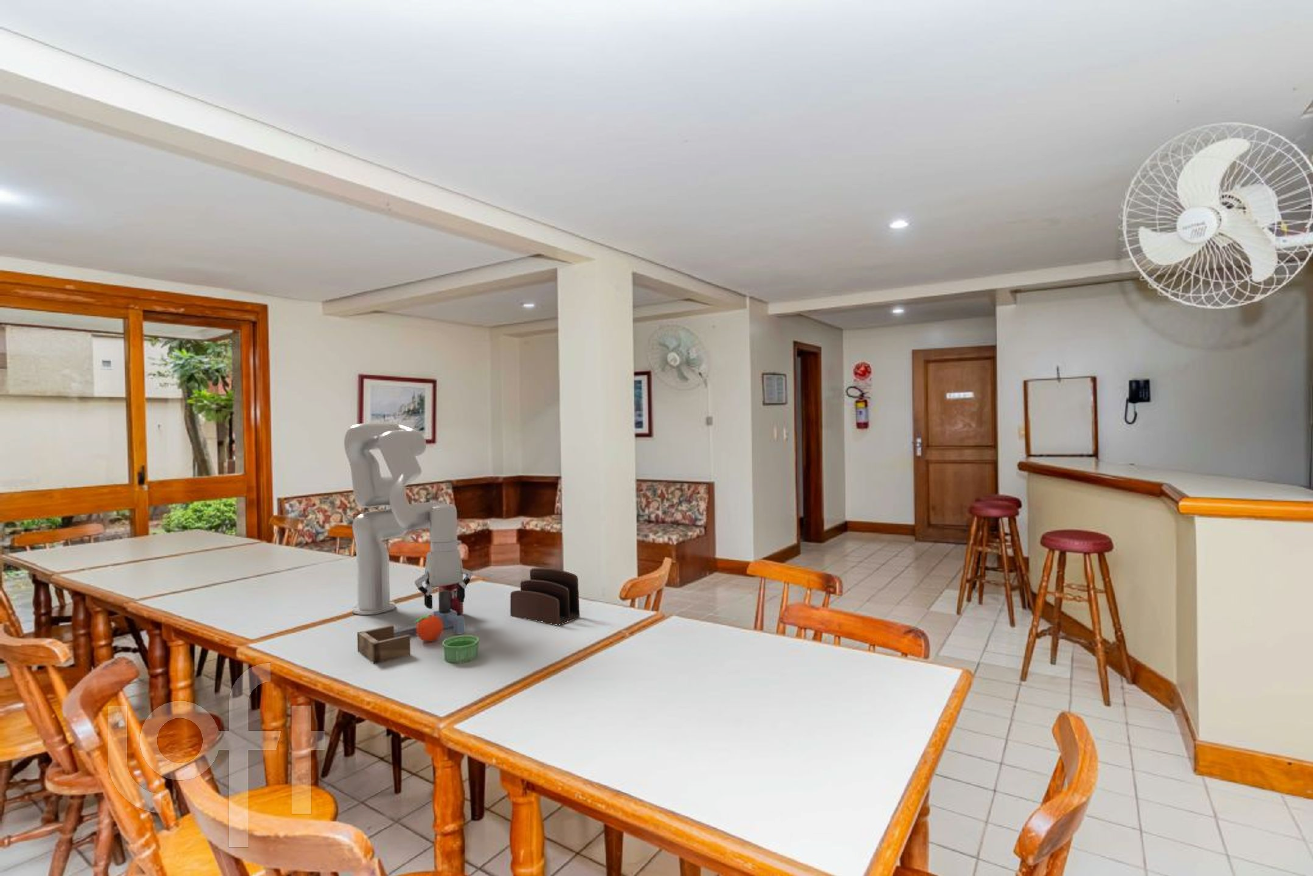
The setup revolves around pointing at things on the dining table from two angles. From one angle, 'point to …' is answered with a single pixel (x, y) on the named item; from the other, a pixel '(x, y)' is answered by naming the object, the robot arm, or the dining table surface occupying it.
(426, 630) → the clementine
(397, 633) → the rail
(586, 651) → the dining table surface
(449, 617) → the kicker
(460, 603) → the soda can
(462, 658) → the ramekin
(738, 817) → the dining table surface
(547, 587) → the letter holder
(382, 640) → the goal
